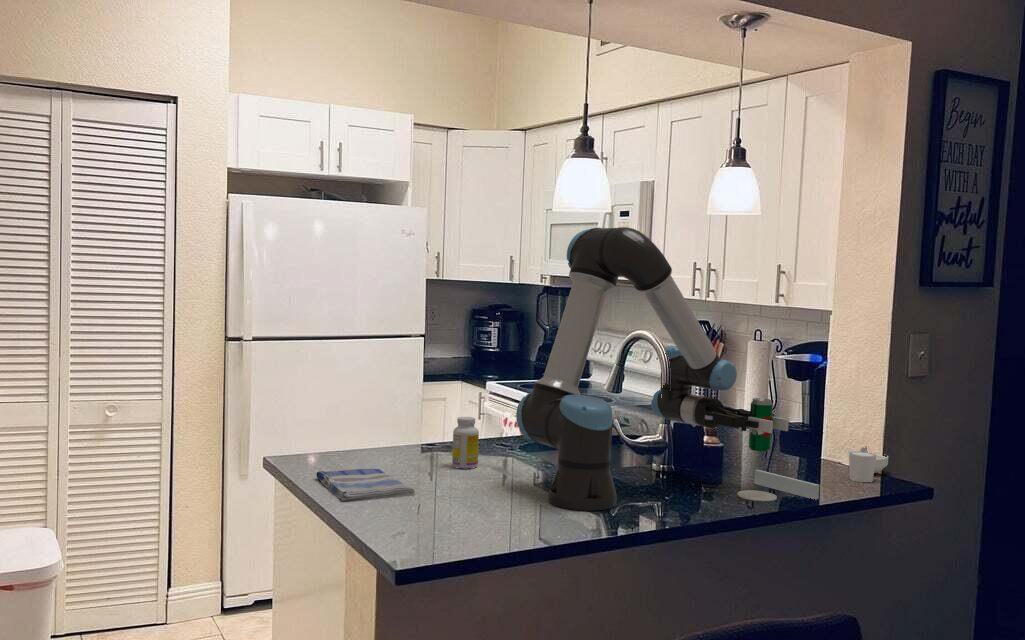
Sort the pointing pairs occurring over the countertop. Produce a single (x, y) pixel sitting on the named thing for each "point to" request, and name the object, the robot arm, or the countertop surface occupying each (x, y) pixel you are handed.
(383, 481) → the dish towel
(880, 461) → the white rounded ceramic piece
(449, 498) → the countertop surface
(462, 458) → the supplement bottle
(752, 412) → the soda can
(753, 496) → the disc
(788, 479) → the acrylic fence
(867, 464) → the white cup
